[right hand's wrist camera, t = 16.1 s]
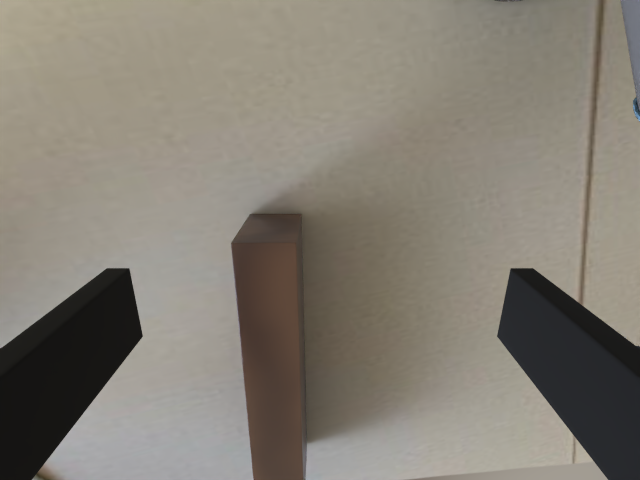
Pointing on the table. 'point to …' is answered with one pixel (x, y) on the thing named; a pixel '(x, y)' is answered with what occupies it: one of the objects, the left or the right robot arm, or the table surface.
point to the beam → (272, 342)
